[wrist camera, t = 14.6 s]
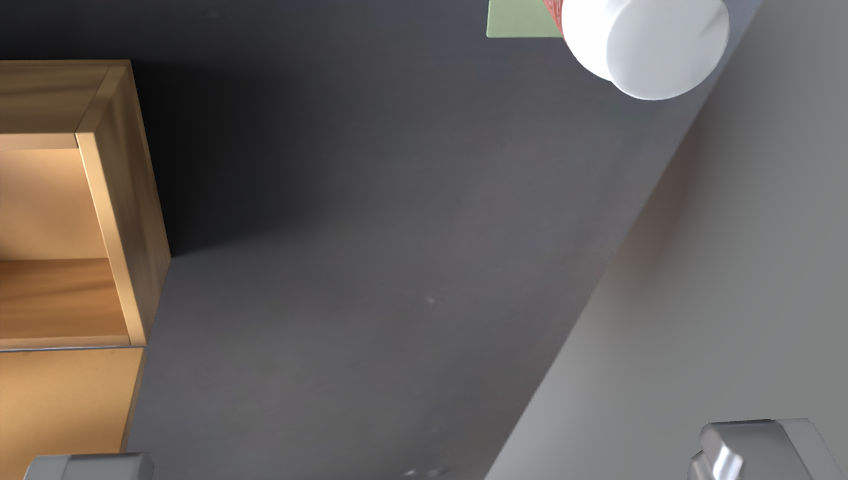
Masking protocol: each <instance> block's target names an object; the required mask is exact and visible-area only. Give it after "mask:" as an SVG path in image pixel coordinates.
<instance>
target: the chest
mask: <svg viewBox="0 0 848 480" xmlns="http://www.w3.org/2000/svg"><path fill="white" fill-rule="evenodd" d="M170 260H171V255H170V250H169V245H168V240H167V235H166V231H165V226H164V221H163V216H162V211H161V206H160V202H159V197H158V192H157V187H156V182H155V177H154V173H153V168H152V163H151V158H150V153H149V148H148V144H147V139H146V134H145V129H144V124H143V119H142V115H141V110H140V105H139V100H138V95H137V90H136V86H135V81H134V76H133V71H132V66H131V61H130V60H0V351H1V350H29V349H58V348H86V347H115V346H131V345H132V346H144V345H147V344H148V341H149V337H150V333H151V330H152V326H153V322H154V319H155V315H156V311H157V308H158V304H159V300H160V297H161V293H162V289H163V286H164V282H165V279H166V275H167V271H168V268H169V264H170Z"/></svg>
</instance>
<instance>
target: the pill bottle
mask: <svg viewBox="0 0 848 480" xmlns="http://www.w3.org/2000/svg"><path fill="white" fill-rule="evenodd" d="M542 1H543V2H544V4H545V6H546V8H547V10H548V11H549V13H550V15H551V17H552V18H553V20H554V22H555V24H556V25H557V28H558V29H559V32H560V33H561V34H562V36H563V38H564V40H565V41H566V44H567V45H568V47H569V48H570V50H571V51H572V53H573V54H574V55H575V57H576V58H577V59H578V61H579V62H580V63H581V64H582V65H583V66H584V67H585V68H587V69H588V70H589V71H591V72H592V73H594V74H596V75H597V76H599V77H601V78H604V79H607V80H610V81H612V82H613V83H614V84H615V85H616V86H617V87H618V88H619V89H620V90H621V91H623V92H624V93H626V94H628V95H630V96H633V97H635V98H639V99H645V100H662V99H667V98H671V97H675V96H678V95H680V94H683V93H685V92H687V91H689V90H691V89H692V88H693V87H695V86H697V85H698V84H699V83H701V82H702V81H703V80H704V79H705V78H706V77H707V76H708V75H709V74H710V73H711V72H712V71H713V70H714V68H715V67H716V66H717V64H718V63H719V61H720V60H721V58H722V56H723V54H724V51H725V49H726V46H727V43H728V40H729V35H730V19H729V13H728V10H727V7H726V5H725V3H724V1H723V0H542Z"/></svg>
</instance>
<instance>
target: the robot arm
mask: <svg viewBox="0 0 848 480" xmlns="http://www.w3.org/2000/svg"><path fill="white" fill-rule="evenodd" d="M699 441H700V443H701V446H702V448H703V450H702V451H700V452H699V453H697V454H696V455H695V456H694V457H692V459H691V462H690V465H689V469H688V472H687V476H688V477H687V479H688V480H848V479H847V477H846V476H845V474H844V473H843V471H842V469H841V467H840V466H839V464H838V463H837V461H836V459H835V458H834V456H833V454H832V453H831V451H830V449H829V448H828V446H827V444H826V443H825V441H824V439H823V438H822V436H821V434H820V433H819V431H818V430H817V428H816V426H815V424H814V423H813V422H811V421H810V420H809V419H807V418H794V419H778V420H770V419H763V420H747V421H733V422H732V421H731V422H718V423H717V422H716V423H708V424H707V425H706V426H704V427H703V428H702V431H701V434H700V437H699ZM153 469H154V465H153V462H152V459H151V456H150V453H149V452H136V453H96V454H62V455H38V456H36V457H35V459H34V460H33V461H32V462H31V464H30V465H29V466H28V468H27V471H26V474H25V476H24V479H23V480H151V479H152V474H153Z"/></svg>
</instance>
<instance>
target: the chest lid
mask: <svg viewBox="0 0 848 480" xmlns="http://www.w3.org/2000/svg"><path fill="white" fill-rule="evenodd" d="M146 359H147V356H146V353H145V349H144V348H119V349H91V350H62V351H34V352H6V353H0V480H23V479H24V476H25V474H26V471H27V468H28V466H29V465H30V464H31V462H32V461H33V460H34V459H35V457H36V456H38V455H62V454H96V453H125V451H126V447H127V443H128V438H129V434H130V429H131V425H132V421H133V416H134V412H135V408H136V403H137V399H138V394H139V390H140V386H141V381H142V377H143V372H144V368H145V364H146Z"/></svg>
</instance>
